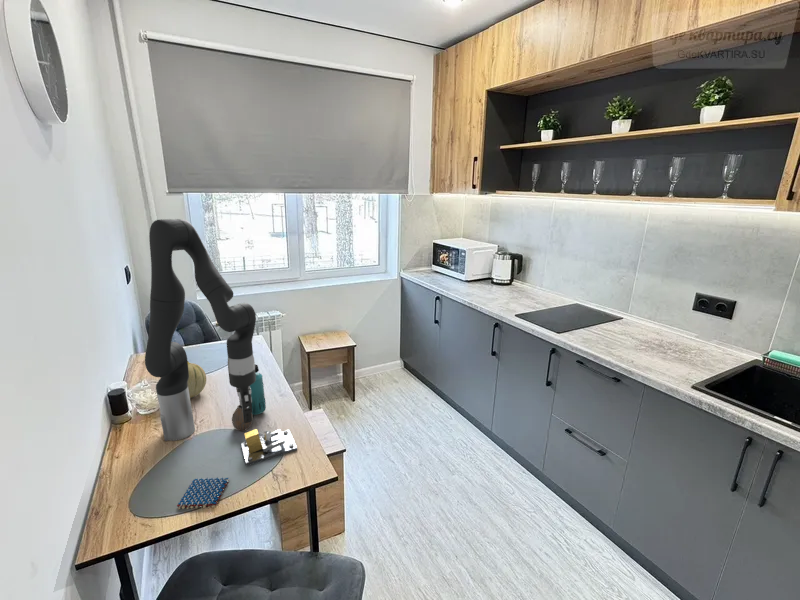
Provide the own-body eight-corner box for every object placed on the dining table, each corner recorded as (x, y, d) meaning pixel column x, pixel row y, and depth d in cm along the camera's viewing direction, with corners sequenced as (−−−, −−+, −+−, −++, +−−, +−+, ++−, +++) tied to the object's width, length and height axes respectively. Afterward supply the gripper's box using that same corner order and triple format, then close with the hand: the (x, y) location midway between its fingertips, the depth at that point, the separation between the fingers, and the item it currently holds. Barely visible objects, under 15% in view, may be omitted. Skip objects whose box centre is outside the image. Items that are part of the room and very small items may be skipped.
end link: (251, 457, 121) (246, 442, 119) (247, 444, 127) (243, 430, 125) (285, 443, 126) (281, 428, 124) (280, 431, 132) (277, 417, 130)
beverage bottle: (260, 419, 143) (255, 370, 137) (244, 417, 144) (239, 369, 139) (269, 409, 149) (265, 363, 144) (254, 407, 150) (249, 361, 145)
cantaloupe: (165, 409, 149) (159, 374, 144) (170, 391, 161) (164, 359, 157) (208, 401, 154) (203, 367, 150) (209, 384, 167) (204, 353, 163)
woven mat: (193, 482, 113) (192, 477, 112) (230, 481, 114) (229, 475, 113) (175, 511, 103) (174, 505, 102) (216, 509, 104) (215, 503, 103)
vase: (233, 435, 134) (231, 413, 131) (232, 424, 140) (229, 403, 137) (254, 430, 137) (252, 408, 134) (252, 420, 143) (249, 399, 140)
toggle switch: (245, 465, 119) (243, 449, 117) (241, 445, 128) (239, 430, 127) (297, 450, 127) (296, 434, 125) (289, 432, 136) (288, 417, 134)
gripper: (226, 361, 120) (230, 406, 125) (230, 381, 108) (235, 430, 113) (251, 356, 124) (255, 401, 128) (258, 375, 112) (262, 423, 116)
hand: (246, 414), depth 121 cm, fingers open, 8 cm apart
